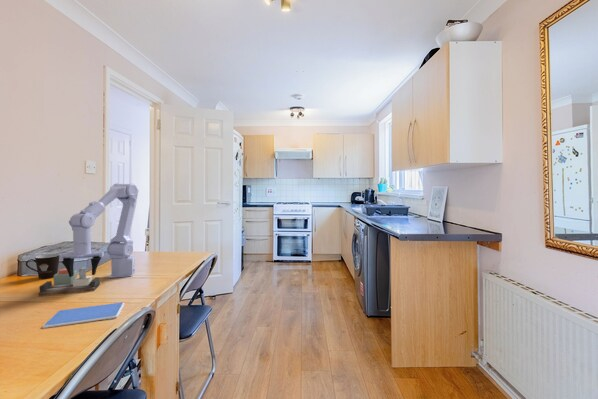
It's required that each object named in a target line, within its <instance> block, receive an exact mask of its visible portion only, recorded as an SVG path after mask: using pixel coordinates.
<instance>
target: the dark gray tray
mask: <svg viewBox="0 0 598 399" xmlns="http://www.w3.org/2000/svg"><path fill="white" fill-rule="evenodd" d="M100 285H101V281H100V277H98V276H97V277H96V276H95V277H94V278H92V281H91V283H90V284H89V285H87V286H76V287H73V284H69V285H57V286H54V285H53V282H52V281H46V282H44V283H42V284H41V285H39V292H38V293H37V294H38V297H44V296H54V295H65V294H76V293H87V292H95V291H96V290H97V288H98V287H100Z"/></svg>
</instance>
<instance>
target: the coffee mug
mask: <svg viewBox="0 0 598 399" xmlns="http://www.w3.org/2000/svg"><path fill="white" fill-rule="evenodd" d="M60 255H61V254H60V253H47V254H46V253H45V254H40V255H36V256H35V257H34V259H33V258H32V259H28V260H26V261H25V267H27V268H28V269H30V270H31V271H33V272H37V275H38V279H39V280H48V279H54V275H55V274H57V273H58V272H59V266H60V265H59V263H60ZM31 261H32V262H35V265H36V269H35V268H33V267H31V266H30V265H28V263H29V262H31Z"/></svg>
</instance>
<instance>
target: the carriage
mask: <svg viewBox="0 0 598 399" xmlns="http://www.w3.org/2000/svg"><path fill="white" fill-rule="evenodd" d="M78 272H79V274H78V275H79V276H77V278H76V279H74V280H73V287H76V286H87V285H89V284H90V283H91V281H92V280H93V275H87V267H80V268H79V269H78Z"/></svg>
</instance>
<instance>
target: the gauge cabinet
mask: <svg viewBox="0 0 598 399" xmlns="http://www.w3.org/2000/svg"><path fill="white" fill-rule="evenodd" d="M73 270H74V269H73ZM77 273H78V272H77V270H74V275H73V276H72V277H69V274H59V271H58V273H57V274H55V275H54V278H53V286H57V285H69V284H73V280H74V279H76V278H77V277H78V275H77Z"/></svg>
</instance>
